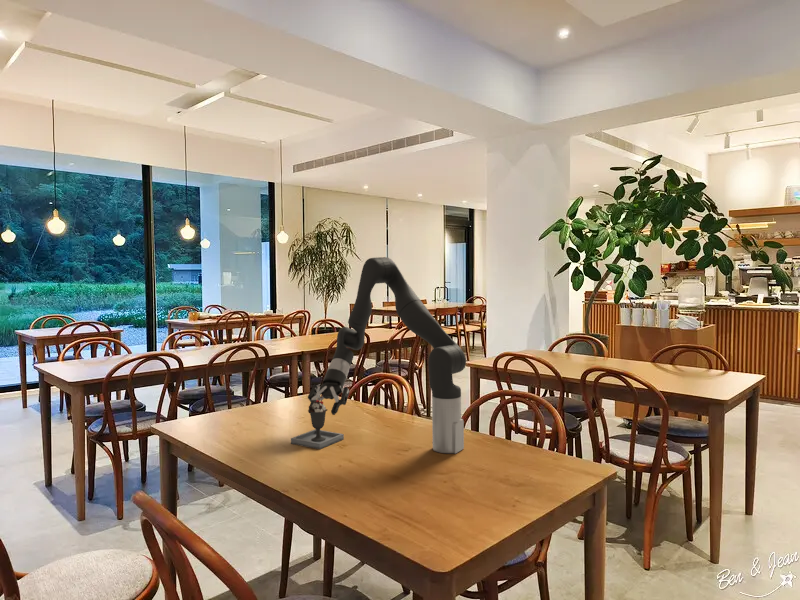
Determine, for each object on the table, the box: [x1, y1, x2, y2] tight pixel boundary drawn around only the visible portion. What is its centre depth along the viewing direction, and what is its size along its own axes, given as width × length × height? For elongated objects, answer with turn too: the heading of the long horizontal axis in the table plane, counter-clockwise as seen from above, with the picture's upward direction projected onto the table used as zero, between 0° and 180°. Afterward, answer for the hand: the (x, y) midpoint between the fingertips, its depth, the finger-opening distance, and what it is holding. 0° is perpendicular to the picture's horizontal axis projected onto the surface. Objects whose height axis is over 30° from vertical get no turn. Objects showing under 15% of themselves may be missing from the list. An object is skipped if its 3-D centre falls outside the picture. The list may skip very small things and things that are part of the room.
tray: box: [290, 428, 345, 450], centre depth 185 cm, size 13×13×2 cm
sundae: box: [307, 394, 328, 442], centre depth 184 cm, size 7×7×15 cm
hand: (321, 412), depth 187 cm, fingers open, 8 cm apart
